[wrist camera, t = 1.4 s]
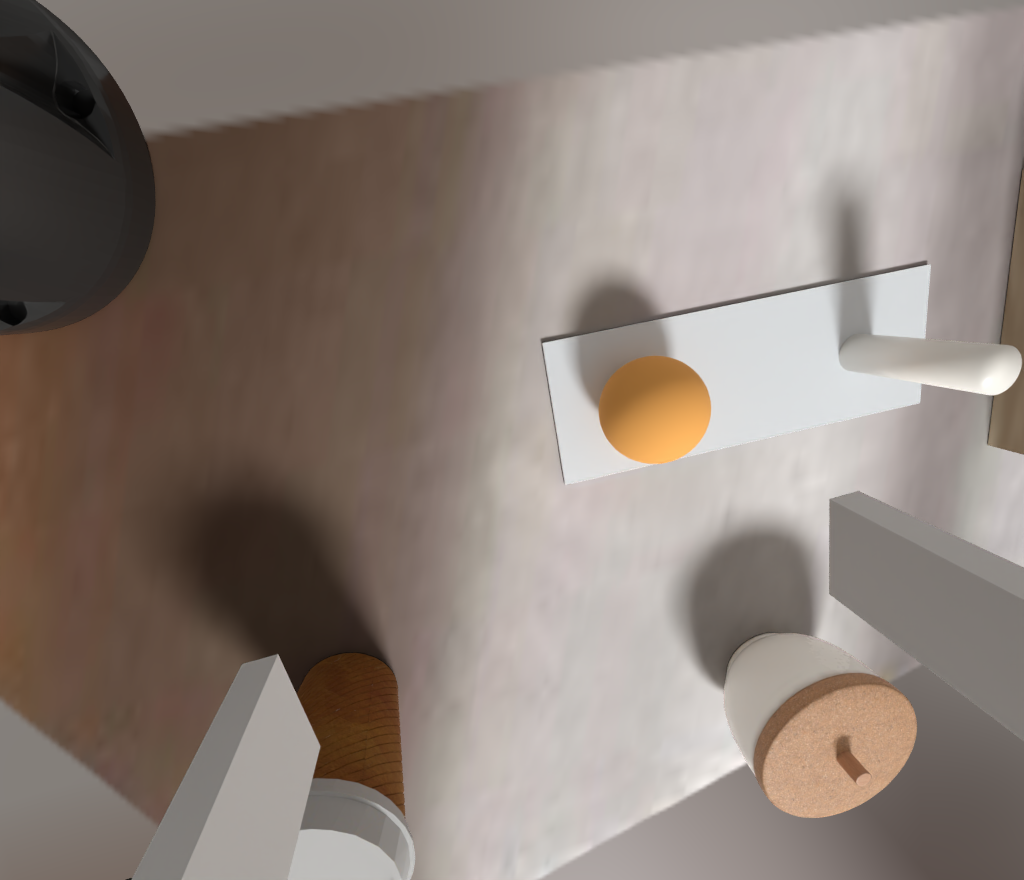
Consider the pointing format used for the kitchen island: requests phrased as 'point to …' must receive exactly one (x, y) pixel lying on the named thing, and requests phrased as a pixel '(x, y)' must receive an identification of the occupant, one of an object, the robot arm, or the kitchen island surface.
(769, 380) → the plate
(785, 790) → the lidded jar
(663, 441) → the ball
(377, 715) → the disposable coffee cup
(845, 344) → the pin
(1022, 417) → the backstop
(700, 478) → the kitchen island surface
